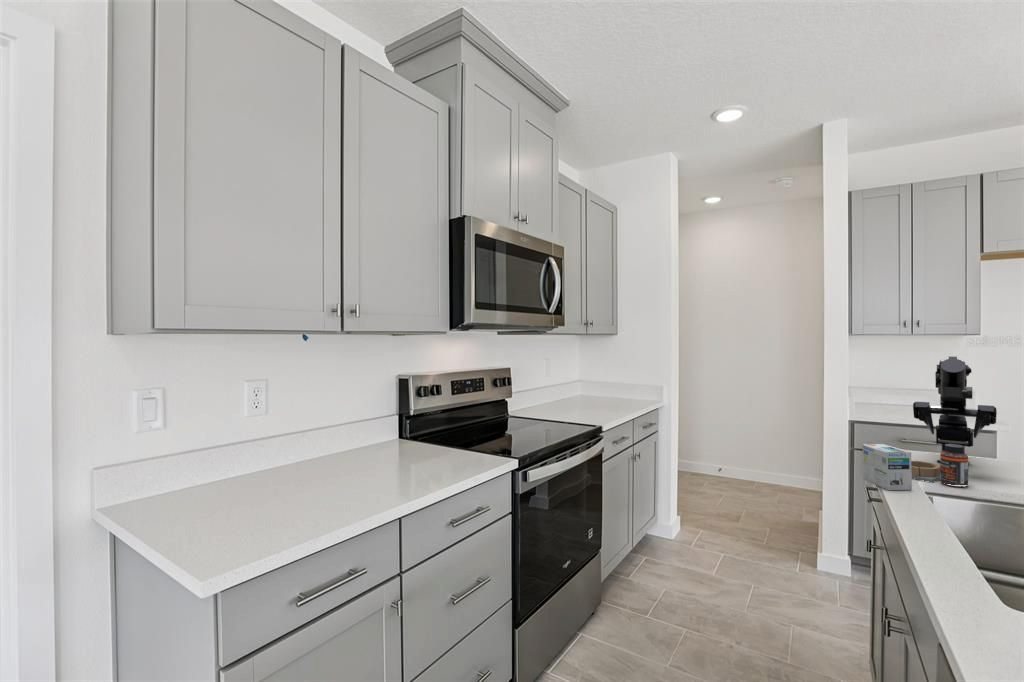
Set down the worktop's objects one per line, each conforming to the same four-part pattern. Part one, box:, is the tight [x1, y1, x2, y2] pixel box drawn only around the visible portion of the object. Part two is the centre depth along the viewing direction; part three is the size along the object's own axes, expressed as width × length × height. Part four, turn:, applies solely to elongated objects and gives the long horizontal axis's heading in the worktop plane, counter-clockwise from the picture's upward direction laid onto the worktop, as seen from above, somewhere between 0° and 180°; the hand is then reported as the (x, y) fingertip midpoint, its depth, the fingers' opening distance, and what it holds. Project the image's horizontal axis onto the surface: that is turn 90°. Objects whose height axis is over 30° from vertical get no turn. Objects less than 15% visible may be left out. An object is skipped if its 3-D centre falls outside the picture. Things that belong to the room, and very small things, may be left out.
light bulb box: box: [862, 443, 913, 491], centre depth 143 cm, size 11×7×11 cm, turn 179°
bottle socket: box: [911, 460, 941, 483], centre depth 150 cm, size 10×10×4 cm
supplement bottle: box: [939, 444, 969, 486], centre depth 141 cm, size 6×6×11 cm
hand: (953, 435), depth 146 cm, fingers open, 9 cm apart
